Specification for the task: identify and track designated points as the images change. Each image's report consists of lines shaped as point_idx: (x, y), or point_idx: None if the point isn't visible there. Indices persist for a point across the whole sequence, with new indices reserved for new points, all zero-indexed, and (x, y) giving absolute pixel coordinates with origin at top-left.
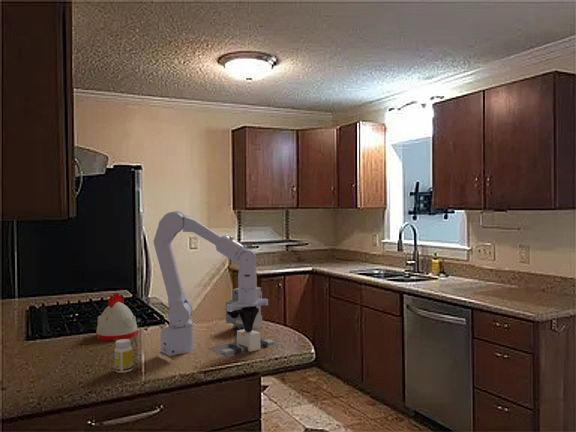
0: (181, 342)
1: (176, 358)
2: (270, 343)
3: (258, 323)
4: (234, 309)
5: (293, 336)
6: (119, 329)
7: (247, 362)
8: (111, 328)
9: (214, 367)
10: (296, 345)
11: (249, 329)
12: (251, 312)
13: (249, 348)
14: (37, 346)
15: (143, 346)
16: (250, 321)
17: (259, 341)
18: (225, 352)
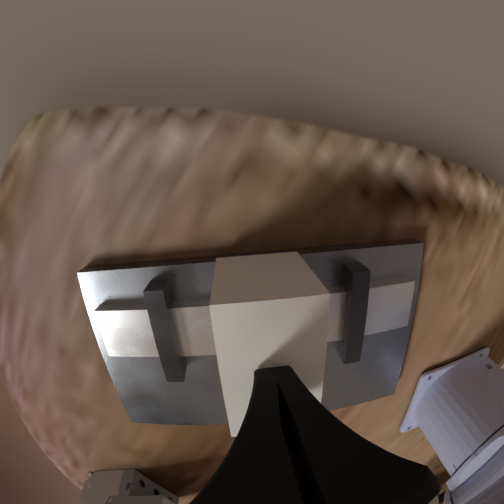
0: (487, 386)
1: (475, 351)
2: (119, 306)
3: (98, 484)
4: (494, 491)
5: (9, 357)
6: None
7: (367, 144)
8: (434, 498)
9: (477, 191)
10: (19, 249)
11: (285, 375)
12: (339, 501)
13: (301, 259)
14: None
15: (434, 453)
16: (295, 423)
17: (221, 274)
18: (411, 289)
